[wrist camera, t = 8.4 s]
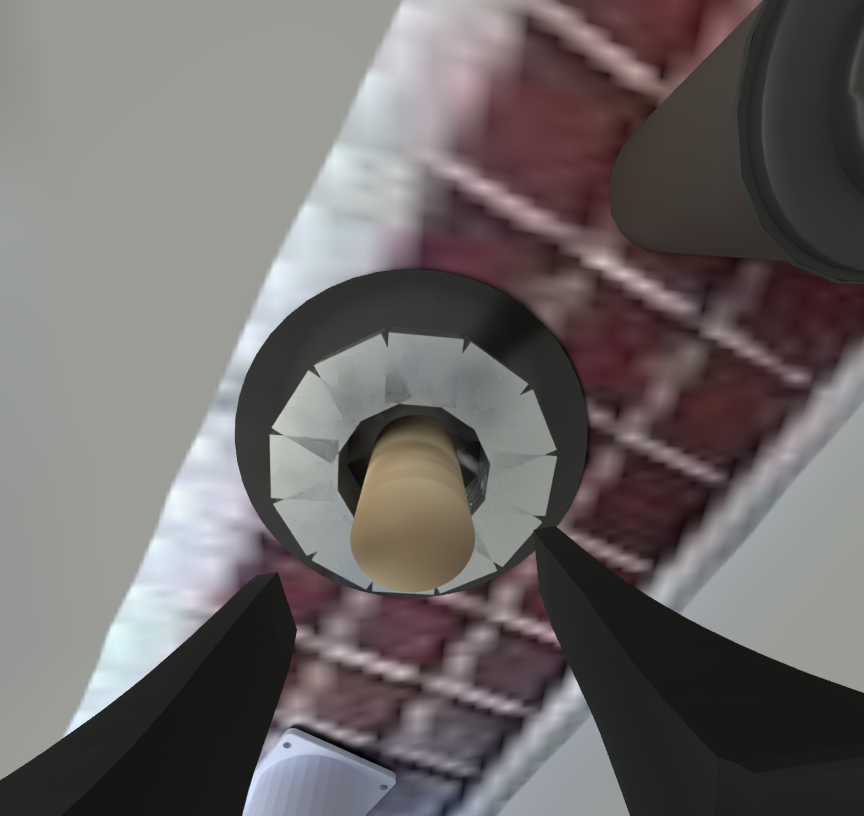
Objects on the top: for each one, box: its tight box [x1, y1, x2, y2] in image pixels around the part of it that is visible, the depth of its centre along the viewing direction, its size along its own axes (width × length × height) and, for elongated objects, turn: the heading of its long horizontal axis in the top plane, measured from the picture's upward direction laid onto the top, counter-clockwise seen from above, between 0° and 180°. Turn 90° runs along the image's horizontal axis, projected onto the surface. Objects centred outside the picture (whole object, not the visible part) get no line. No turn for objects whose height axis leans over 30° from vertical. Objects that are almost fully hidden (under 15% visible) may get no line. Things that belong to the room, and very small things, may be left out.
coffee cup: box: [609, 0, 864, 284], centre depth 12 cm, size 8×8×10 cm
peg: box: [350, 415, 475, 592], centre depth 16 cm, size 4×4×7 cm
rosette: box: [235, 269, 588, 597], centre depth 19 cm, size 17×17×3 cm
